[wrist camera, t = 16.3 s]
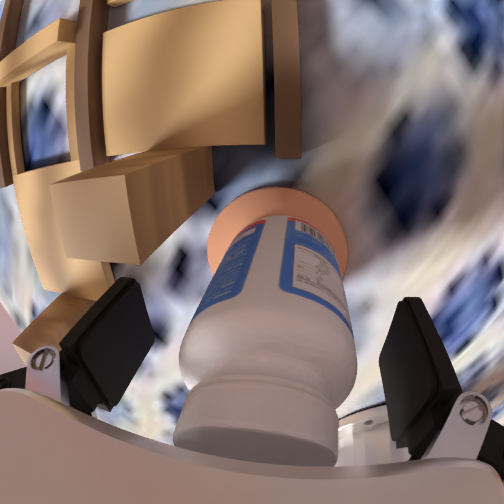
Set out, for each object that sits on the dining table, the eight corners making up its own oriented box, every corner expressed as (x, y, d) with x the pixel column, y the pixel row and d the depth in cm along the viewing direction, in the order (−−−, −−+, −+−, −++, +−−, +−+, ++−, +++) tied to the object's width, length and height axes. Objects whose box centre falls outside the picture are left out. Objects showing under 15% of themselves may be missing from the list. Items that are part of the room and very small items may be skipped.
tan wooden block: (262, 3, 9) (223, -85, 2) (267, 195, 13) (231, 272, 7) (111, 35, 10) (11, 16, 4) (120, 196, 14) (27, 253, 8)
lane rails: (280, -122, 3) (276, -141, 1) (300, 154, 12) (300, 162, 10) (25, -26, 6) (7, -29, 4) (13, 182, 15) (-9, 192, 13)
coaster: (353, 190, 12) (355, 193, 12) (337, 313, 15) (337, 318, 15) (205, 185, 13) (201, 188, 13) (216, 304, 16) (213, 309, 16)
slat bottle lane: (87, 24, 9) (-7, 10, 3) (128, 324, 19) (79, 395, 12) (15, 68, 11) (-59, 78, 5) (59, 307, 20) (11, 357, 14)
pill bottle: (238, 309, 16) (181, 475, 7) (218, 217, 13) (97, 384, 5) (338, 305, 14) (349, 488, 6) (336, 208, 12) (390, 406, 3)
